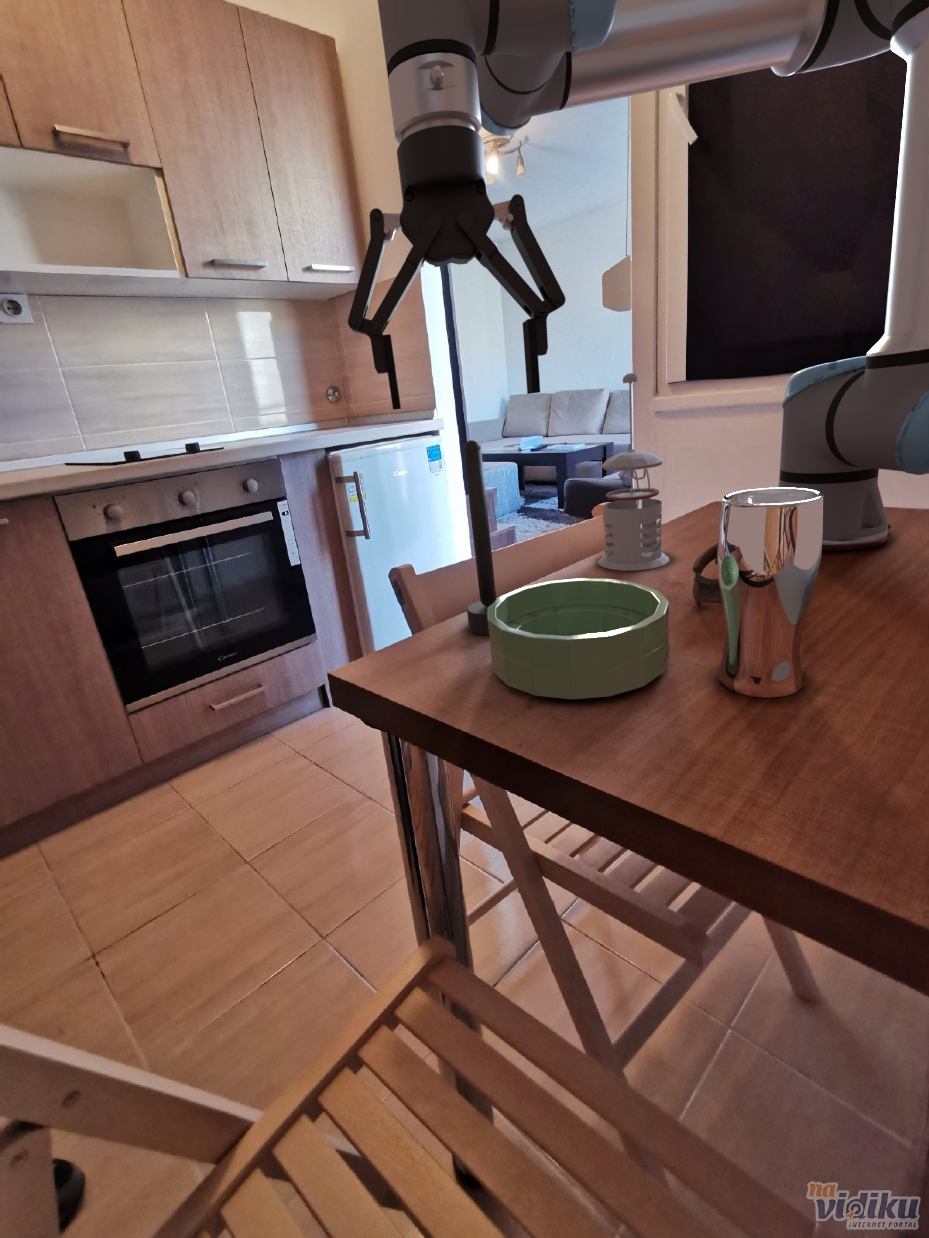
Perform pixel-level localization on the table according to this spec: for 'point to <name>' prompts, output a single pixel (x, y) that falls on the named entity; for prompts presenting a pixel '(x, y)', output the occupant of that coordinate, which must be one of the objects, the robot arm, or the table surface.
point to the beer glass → (767, 585)
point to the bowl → (579, 637)
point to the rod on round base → (479, 539)
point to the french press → (633, 513)
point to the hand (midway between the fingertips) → (465, 401)
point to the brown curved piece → (705, 579)
